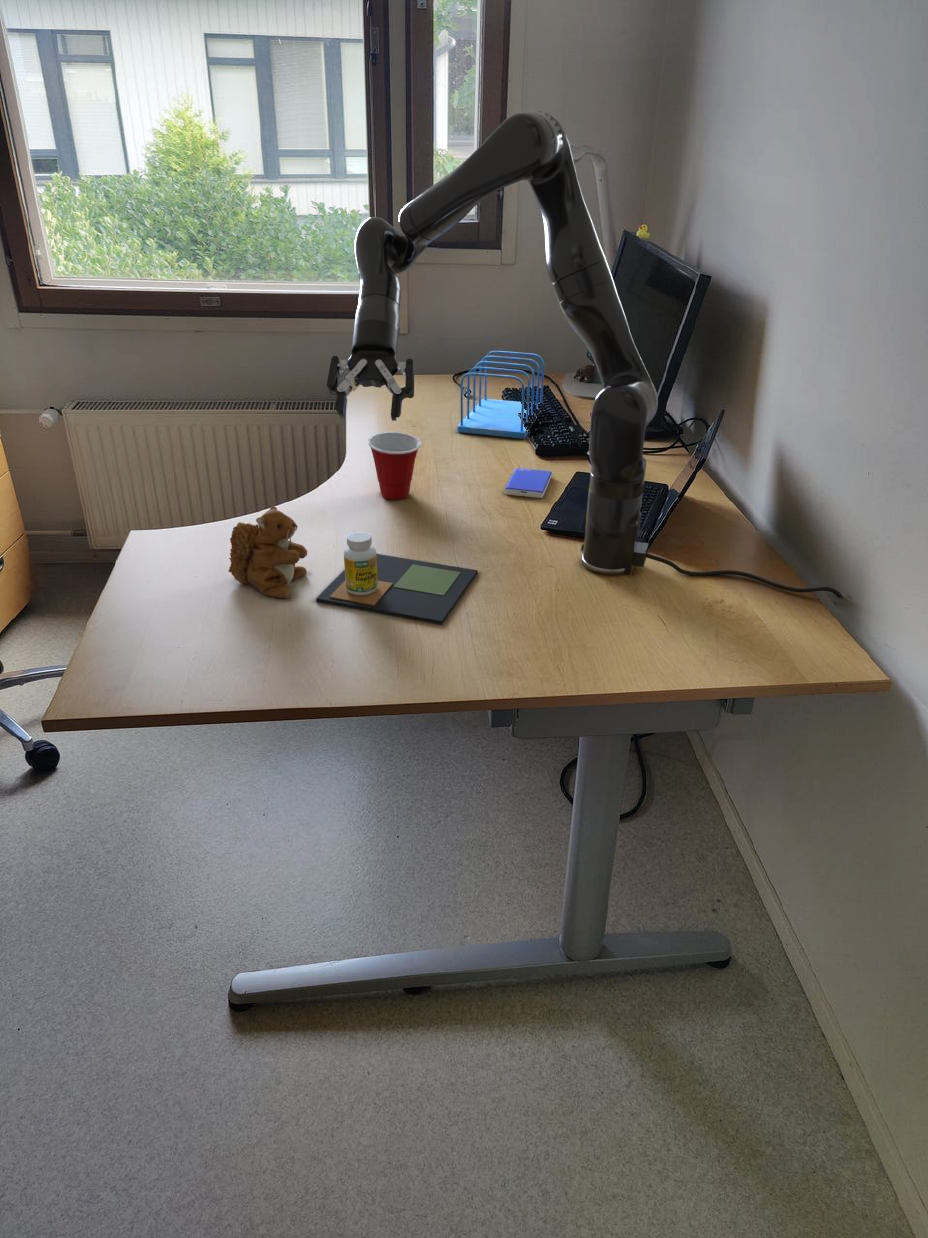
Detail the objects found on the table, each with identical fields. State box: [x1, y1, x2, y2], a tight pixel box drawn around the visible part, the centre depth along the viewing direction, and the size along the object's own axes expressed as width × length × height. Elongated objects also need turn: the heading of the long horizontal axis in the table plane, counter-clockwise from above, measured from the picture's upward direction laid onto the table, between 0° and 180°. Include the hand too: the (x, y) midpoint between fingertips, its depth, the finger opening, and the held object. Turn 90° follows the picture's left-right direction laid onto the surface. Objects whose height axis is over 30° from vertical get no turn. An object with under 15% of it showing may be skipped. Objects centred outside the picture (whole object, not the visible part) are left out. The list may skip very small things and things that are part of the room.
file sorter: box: [456, 350, 545, 440], centre depth 228 cm, size 25×17×15 cm
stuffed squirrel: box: [227, 505, 308, 599], centre depth 149 cm, size 10×14×13 cm
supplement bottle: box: [343, 531, 378, 595], centre depth 146 cm, size 5×5×10 cm
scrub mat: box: [315, 553, 479, 625], centre depth 151 cm, size 22×19×1 cm
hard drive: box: [504, 467, 553, 499], centre depth 192 cm, size 2×8×12 cm
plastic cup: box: [367, 431, 422, 501], centre depth 184 cm, size 11×11×12 cm
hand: (367, 417), depth 146 cm, fingers open, 8 cm apart
